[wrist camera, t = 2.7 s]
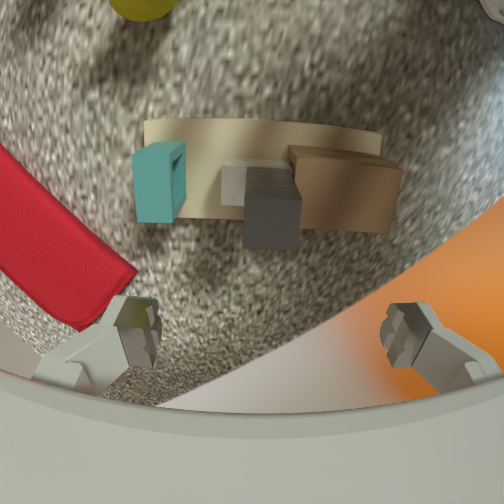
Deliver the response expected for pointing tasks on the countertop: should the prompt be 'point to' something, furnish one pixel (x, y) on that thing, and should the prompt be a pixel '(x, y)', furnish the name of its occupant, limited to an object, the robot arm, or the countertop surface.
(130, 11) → the lemon
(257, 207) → the grey l-shaped block
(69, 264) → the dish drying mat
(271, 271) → the countertop surface
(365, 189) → the walnut sleeve
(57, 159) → the countertop surface
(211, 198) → the stand board
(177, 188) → the teal socket
